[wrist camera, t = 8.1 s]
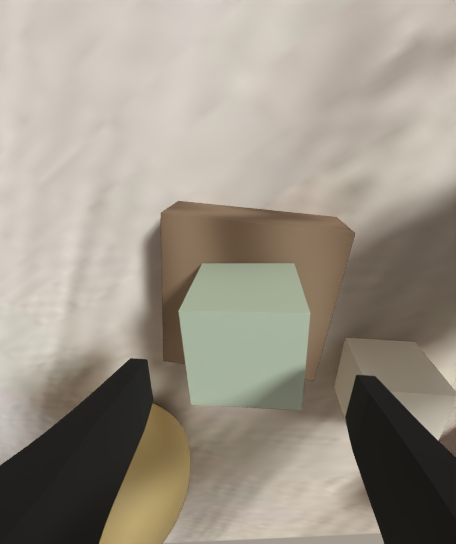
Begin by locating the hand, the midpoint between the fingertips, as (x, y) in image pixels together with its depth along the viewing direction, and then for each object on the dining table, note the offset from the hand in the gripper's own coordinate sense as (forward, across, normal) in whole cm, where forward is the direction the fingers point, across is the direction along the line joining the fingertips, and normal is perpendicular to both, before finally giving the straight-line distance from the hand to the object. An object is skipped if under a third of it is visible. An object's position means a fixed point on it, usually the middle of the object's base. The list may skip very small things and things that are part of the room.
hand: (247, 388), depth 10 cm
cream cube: (+10, -10, +8) cm, 16 cm away
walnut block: (+11, 0, +1) cm, 11 cm away
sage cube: (+7, 0, 0) cm, 7 cm away
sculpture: (+11, +10, +17) cm, 22 cm away
